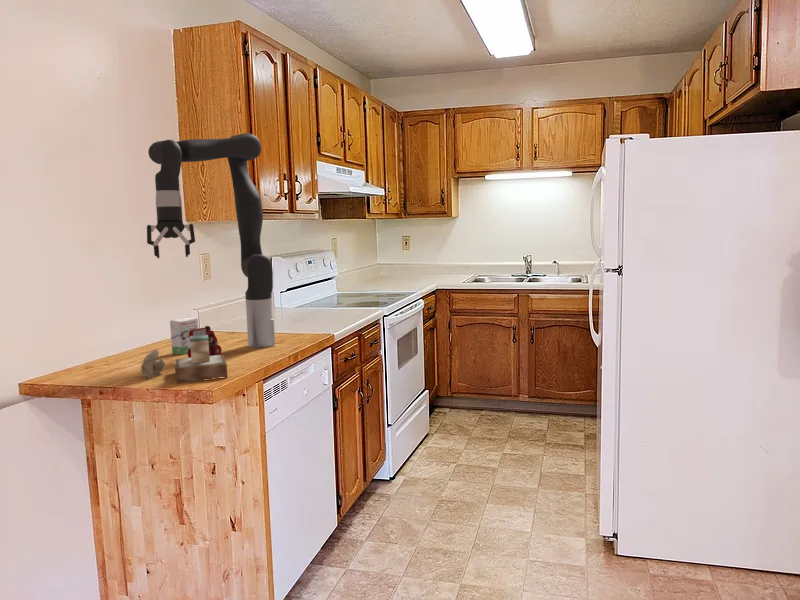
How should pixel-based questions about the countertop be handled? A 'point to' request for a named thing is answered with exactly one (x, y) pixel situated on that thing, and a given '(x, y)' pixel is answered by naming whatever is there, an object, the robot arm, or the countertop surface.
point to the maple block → (199, 349)
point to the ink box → (182, 334)
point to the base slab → (200, 369)
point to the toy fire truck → (213, 343)
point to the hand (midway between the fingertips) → (172, 257)
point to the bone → (152, 365)
